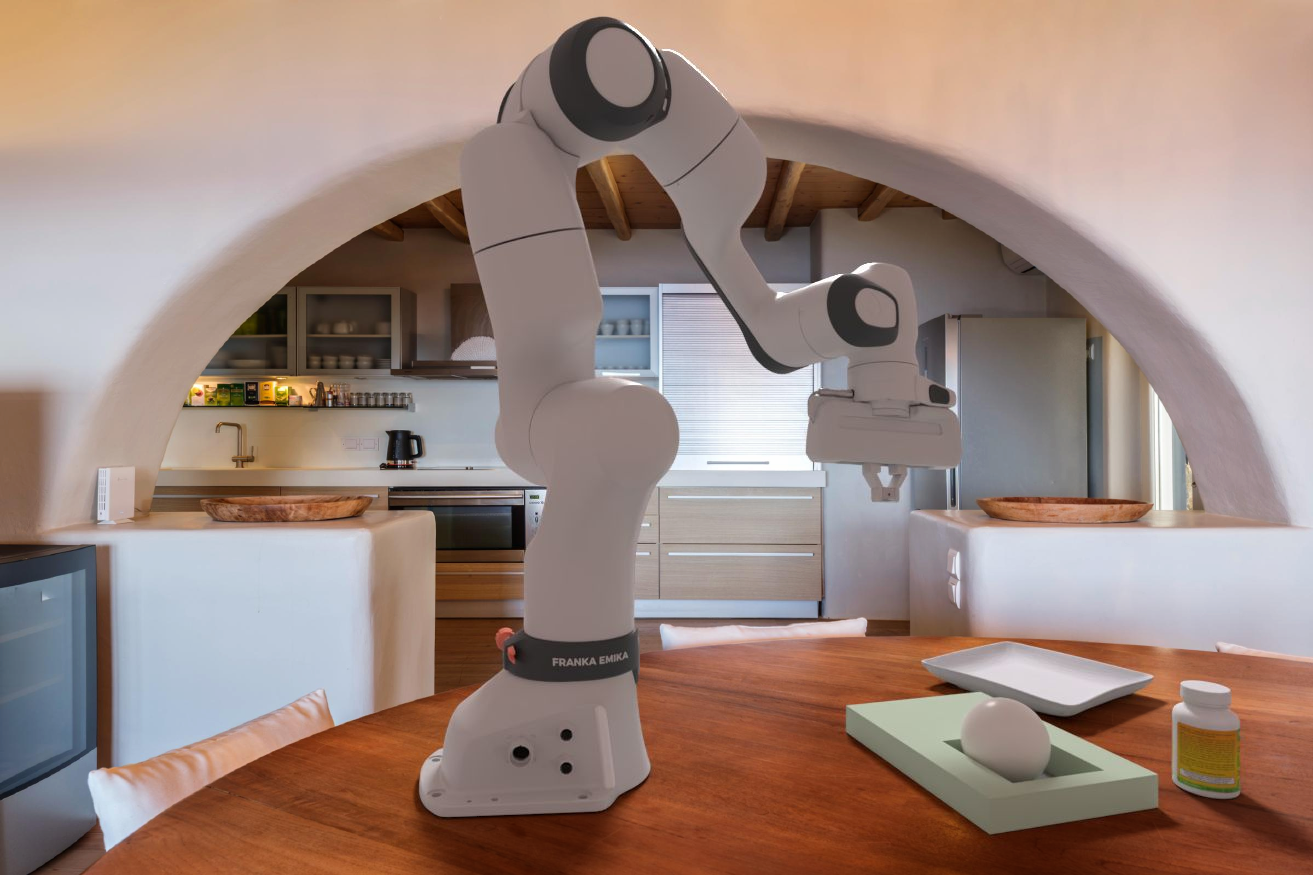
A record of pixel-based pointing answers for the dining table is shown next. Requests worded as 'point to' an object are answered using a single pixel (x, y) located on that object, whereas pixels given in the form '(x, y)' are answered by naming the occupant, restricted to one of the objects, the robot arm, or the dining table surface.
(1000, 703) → the ball
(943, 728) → the putting deck
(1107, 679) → the salad plate
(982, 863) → the dining table surface
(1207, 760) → the supplement bottle
